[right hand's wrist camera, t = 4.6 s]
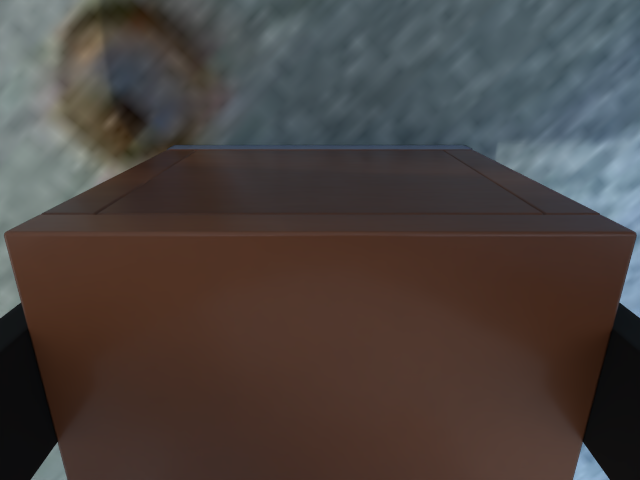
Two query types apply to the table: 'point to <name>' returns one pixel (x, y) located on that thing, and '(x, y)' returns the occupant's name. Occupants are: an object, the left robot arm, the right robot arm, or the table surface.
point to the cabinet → (320, 316)
